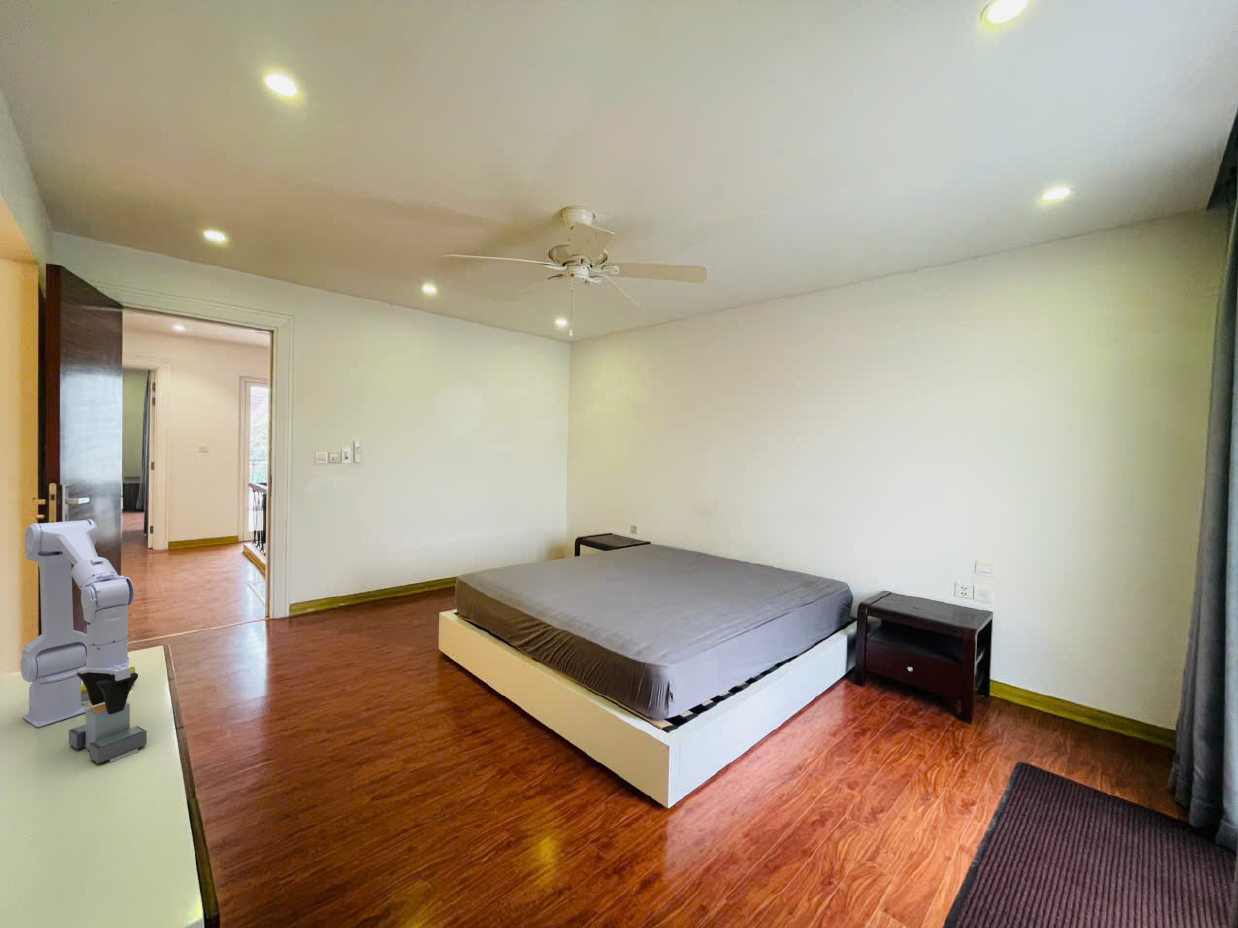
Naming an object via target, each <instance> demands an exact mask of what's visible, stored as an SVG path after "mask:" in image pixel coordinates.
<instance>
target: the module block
mask: <svg viewBox="0 0 1238 928" xmlns="http://www.w3.org/2000/svg"><path fill="white" fill-rule="evenodd" d="M130 705H131V704H130V703H129V702H127V701H126V704H125V707H124V710H123V711H120V712H117V713H114V714H111V715H109V714H108V713H107V710H106V706H105V703H101V704H98V705H95V706H93V707H90V708H88V709H87V710H86V712H85V724H86V747H85V748H86V749H87V750H89V743H92V742H94V741H97V740H100V739H103V738H105V737H108V736H111V735H114V734H116V733H119V732H122V731H125V730H127V729H130V728H131V727H130V725H131V724H130V722H131V721H130V717H131V715H130V714H131V710H130V709H131V708H130Z"/></svg>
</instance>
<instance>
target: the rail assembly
mask: <svg viewBox="0 0 1238 928" xmlns="http://www.w3.org/2000/svg"><path fill="white" fill-rule="evenodd" d="M147 739H148V738H147V730H146V729H143V728H142V727H140V726H138V725H136V726H133V727H130V729H127V730H125V731H122V732H119V733H116V734H114V735H111V736H108V737H105V738H103V739H100V740H97V741H94V742H92V743H89V749H88V750H89V751H88V756H89V758H90V759H91V760H93V761H94V762H95V763H96V764H100V763H102V762H105V761H107V762H108V763H109V764H111V763H114V762H116V761H118V760H121V759H124V758H126V757H129V756H131V755H134V754H136V753H138V752H139V748H142V747H144V746H146V745H147V744H148V743H147ZM68 744H69V745H70V746H71V747H73V748H74V749H76V750H77V749H81V748H83V747H85V748H86V723H85V724H82V725H80V726H77V727H73V728H71V729H68Z"/></svg>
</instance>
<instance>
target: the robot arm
mask: <svg viewBox="0 0 1238 928" xmlns="http://www.w3.org/2000/svg"><path fill="white" fill-rule="evenodd" d="M98 539H99V529H98V524H97V522H96V521H94V520H93V519H91V518H89V519H88V518H87V519H83V520H69V521H58V522H57V521H55V522H43V523H42V522H41V523H36V522H35V523H34V522H33V523H31V524H30V525H29V526H27V527H26V530H25V533H24V549H25V551H24V553H25V556H26V560H28V561H34V562H37V564H38V568H39V584H40V585H39V587H40V589H39V591H40V620H41V621H40V623H41V634H40V635H38V636H37V637H36V638H35V639H33V640H31V641H30V642H29V643H27V644H26V645H25V646H24V647H23V649H22V652H21V653H22V655H21V659H20V674H21V677H22V679H23V680H24V681H25V682H27V683H30V684H29V685H30V686H29V687H28V713H25V714H23V715H22V719H24V720H25V721H27V722H29V724H31V725H33V726H34V727H36V728H41V727H44V726H48V725H50V724H54V723H57V722H61V721H63V720H66V719H70V718H72V717H76V716H78V715H81V714H86V710H87V709H89V708H88V707H86V706H85V705H81V687H82V684H83V683H84V685H85V687H86V689H87V692H88V696H89V699H90V702H91V703H90V704H91V706H93V707H95V706H98V705H101V704H105V706H106V710H107V713H108V714H109V715H111V714H114V713H117V712H120V711H123V710H124V707H125V704H126V702H127V700H128V697H129V695H128V694H129V692H130V689H131V687H132V686H133V684H134V682H135V683H136V681H137V680H138V678H139V674H138V673H137V672H135V673H131V674H130V667H131V666H129V665H130V657H129V655H128V653H129V649H128V647H129V645H128V644H129V641H128V640H129V637H128V635H129V631H128V630H129V626H128V625H129V606H131V605H132V604H133V602H134V598H135V589H134V585H133V582H132V580H131V578H130V577H128V576H124V575H119V574H118V572H117V571H116V569H115V567H114V566H113V565H112V564H111V562H110V560H108V559H107V558H105V557H101V556H98V553H97V551H96V548H95V545H96V543H97V542H98ZM72 565H73V566H72ZM73 580H74V582H75V583H76V585H77V587H78V589H79V590H80V592H81V594H80V603H81V606H82V611H83V613H82V614H83V619H84V621H85V622H86V633H85V632H82V631H79V630H75V629H74V612H73V611H74V610H73ZM134 685H135V684H134Z"/></svg>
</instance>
